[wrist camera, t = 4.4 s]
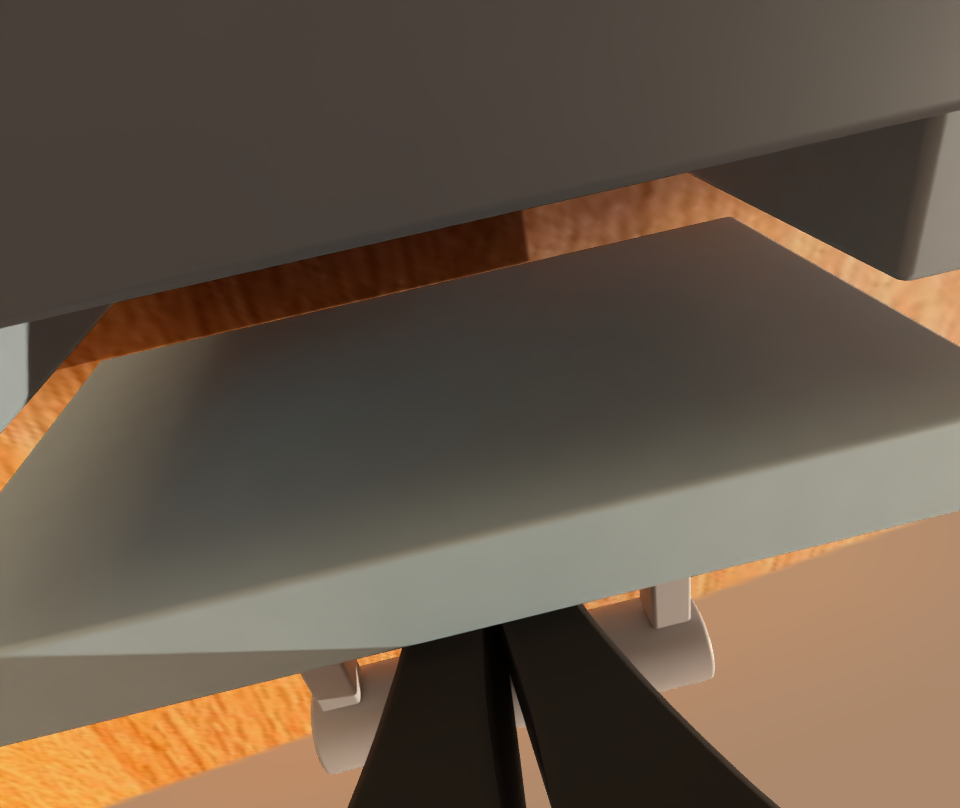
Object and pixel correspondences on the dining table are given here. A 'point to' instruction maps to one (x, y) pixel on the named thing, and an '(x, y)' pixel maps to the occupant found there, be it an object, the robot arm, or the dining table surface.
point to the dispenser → (400, 118)
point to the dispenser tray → (482, 454)
